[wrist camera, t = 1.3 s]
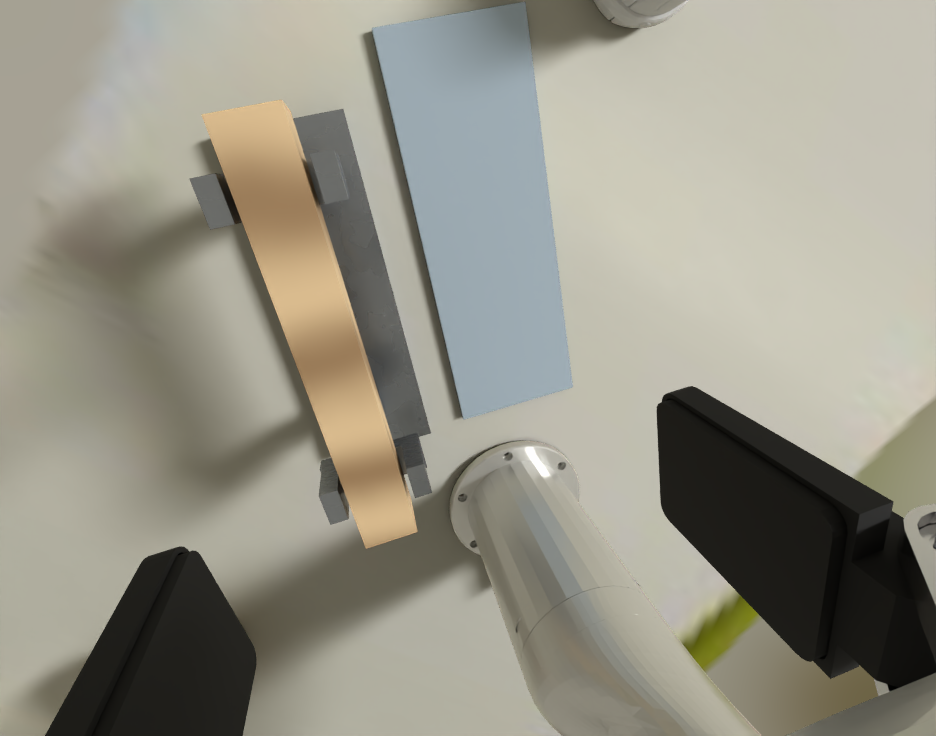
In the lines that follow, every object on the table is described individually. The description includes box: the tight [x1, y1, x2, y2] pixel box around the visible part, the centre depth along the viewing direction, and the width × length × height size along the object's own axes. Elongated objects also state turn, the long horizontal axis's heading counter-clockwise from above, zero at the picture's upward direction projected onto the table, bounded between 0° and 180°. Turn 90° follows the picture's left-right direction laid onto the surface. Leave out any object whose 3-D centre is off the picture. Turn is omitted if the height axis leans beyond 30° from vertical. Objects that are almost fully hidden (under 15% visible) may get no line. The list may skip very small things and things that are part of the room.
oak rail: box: [202, 100, 418, 549], centre depth 23 cm, size 22×3×3 cm, turn 12°
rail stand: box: [190, 109, 432, 525], centre depth 28 cm, size 24×8×13 cm, turn 12°
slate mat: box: [372, 2, 573, 419], centre depth 35 cm, size 28×10×1 cm, turn 12°
